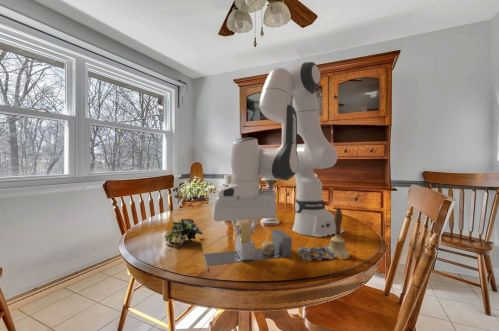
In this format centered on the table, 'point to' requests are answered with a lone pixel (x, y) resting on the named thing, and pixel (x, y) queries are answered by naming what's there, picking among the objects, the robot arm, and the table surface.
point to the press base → (281, 250)
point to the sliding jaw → (245, 242)
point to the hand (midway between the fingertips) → (244, 233)
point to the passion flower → (183, 230)
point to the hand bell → (338, 238)
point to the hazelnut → (268, 248)
